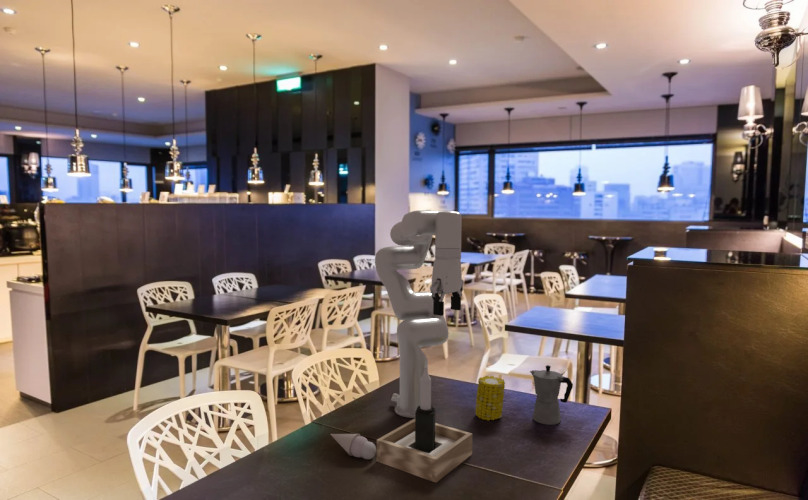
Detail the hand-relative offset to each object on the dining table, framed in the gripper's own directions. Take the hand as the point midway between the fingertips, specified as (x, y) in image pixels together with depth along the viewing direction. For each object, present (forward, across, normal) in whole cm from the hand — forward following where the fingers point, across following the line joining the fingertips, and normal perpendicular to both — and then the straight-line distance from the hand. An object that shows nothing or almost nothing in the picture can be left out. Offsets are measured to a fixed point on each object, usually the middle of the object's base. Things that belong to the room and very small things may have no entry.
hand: (447, 312), depth 154 cm
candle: (+38, +13, +1) cm, 40 cm away
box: (+38, +14, +2) cm, 41 cm away
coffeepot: (+38, -32, +20) cm, 54 cm away
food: (+38, -23, +3) cm, 45 cm away
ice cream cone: (+39, +24, -16) cm, 48 cm away
